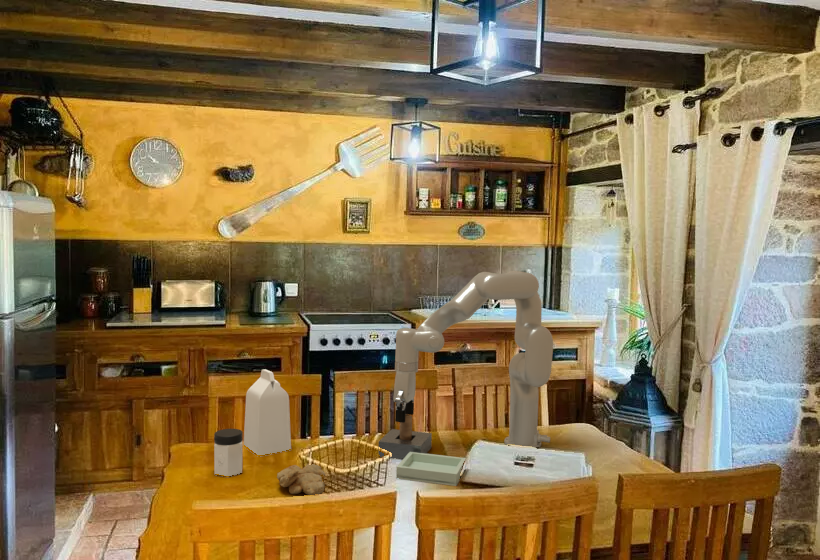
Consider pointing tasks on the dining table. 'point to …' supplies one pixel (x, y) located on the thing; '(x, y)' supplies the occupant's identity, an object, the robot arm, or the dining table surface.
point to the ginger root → (302, 479)
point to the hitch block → (405, 443)
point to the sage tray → (430, 468)
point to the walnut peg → (406, 428)
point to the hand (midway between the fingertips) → (404, 418)
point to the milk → (267, 416)
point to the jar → (228, 452)
